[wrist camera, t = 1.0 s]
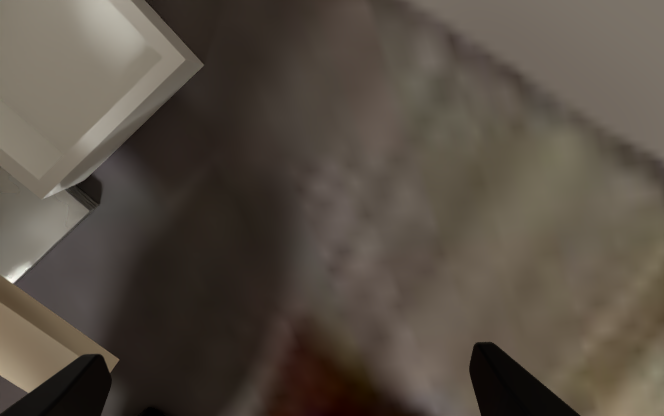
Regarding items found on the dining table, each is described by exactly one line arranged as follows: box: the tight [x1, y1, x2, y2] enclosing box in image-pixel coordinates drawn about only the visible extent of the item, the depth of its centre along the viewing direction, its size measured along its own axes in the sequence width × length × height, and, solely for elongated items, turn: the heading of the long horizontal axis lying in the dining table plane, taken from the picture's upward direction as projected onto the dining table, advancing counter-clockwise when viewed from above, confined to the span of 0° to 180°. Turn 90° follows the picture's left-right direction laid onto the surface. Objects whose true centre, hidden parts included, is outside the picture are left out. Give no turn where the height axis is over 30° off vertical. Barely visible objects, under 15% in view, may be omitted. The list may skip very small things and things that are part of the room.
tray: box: [0, 0, 204, 199], centre depth 15 cm, size 8×8×4 cm
